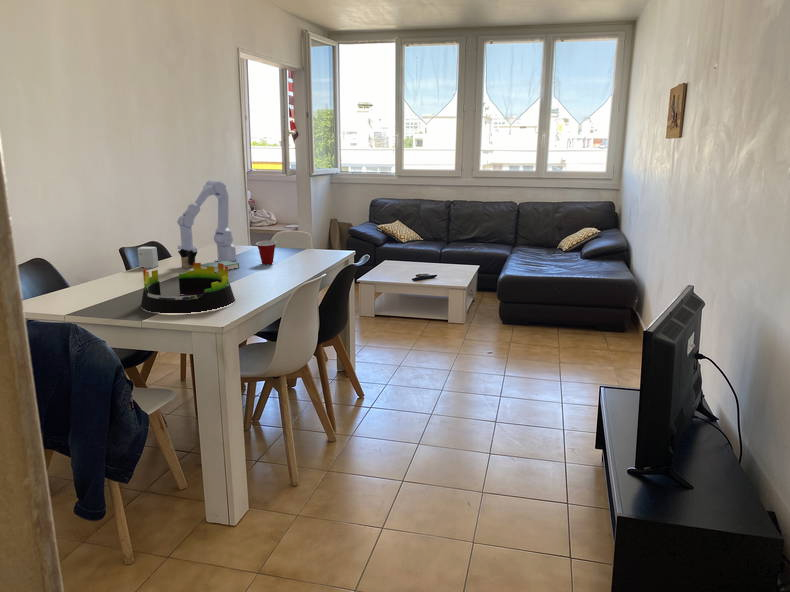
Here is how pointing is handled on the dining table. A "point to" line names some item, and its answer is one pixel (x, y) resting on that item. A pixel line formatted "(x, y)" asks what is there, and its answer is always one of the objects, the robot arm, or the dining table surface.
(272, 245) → the plastic cup
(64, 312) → the dining table surface
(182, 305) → the decorative container
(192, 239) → the robot arm
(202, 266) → the book
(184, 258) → the walnut block
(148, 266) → the small box
